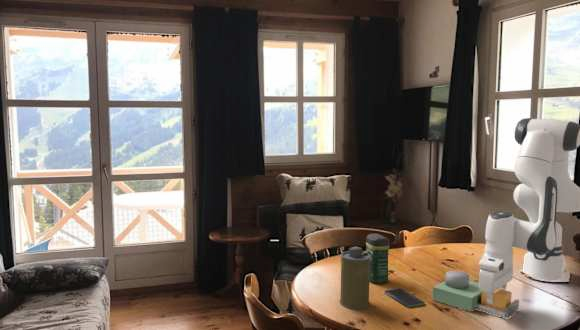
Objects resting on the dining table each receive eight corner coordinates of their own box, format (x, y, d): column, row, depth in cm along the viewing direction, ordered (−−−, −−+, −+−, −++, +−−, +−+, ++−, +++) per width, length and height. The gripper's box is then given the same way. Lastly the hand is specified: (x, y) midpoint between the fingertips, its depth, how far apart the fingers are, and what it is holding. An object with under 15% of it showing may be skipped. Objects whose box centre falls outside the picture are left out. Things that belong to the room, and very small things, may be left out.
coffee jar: (391, 283, 181) (392, 237, 179) (373, 285, 179) (374, 238, 177) (379, 275, 191) (381, 231, 189) (362, 276, 188) (363, 232, 186)
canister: (354, 311, 154) (355, 253, 152) (333, 301, 163) (334, 246, 161) (376, 304, 161) (378, 248, 159) (355, 294, 169) (357, 241, 167)
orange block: (486, 302, 161) (487, 285, 161) (510, 309, 156) (511, 292, 155) (480, 306, 158) (481, 289, 157) (505, 313, 152) (506, 296, 152)
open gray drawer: (486, 301, 164) (487, 291, 163) (518, 310, 156) (519, 300, 156) (474, 309, 157) (475, 299, 156) (507, 319, 149) (508, 308, 149)
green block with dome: (453, 289, 176) (454, 266, 175) (490, 299, 166) (491, 275, 165) (432, 300, 164) (433, 276, 164) (471, 312, 155) (472, 286, 154)
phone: (407, 306, 157) (383, 290, 171) (407, 309, 158) (383, 293, 171) (426, 303, 160) (400, 288, 174) (426, 306, 160) (400, 290, 174)
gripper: (500, 251, 165) (498, 288, 166) (476, 263, 150) (474, 304, 152) (519, 255, 160) (516, 293, 162) (496, 268, 146) (493, 310, 147)
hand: (495, 298), depth 156 cm, fingers open, 8 cm apart
